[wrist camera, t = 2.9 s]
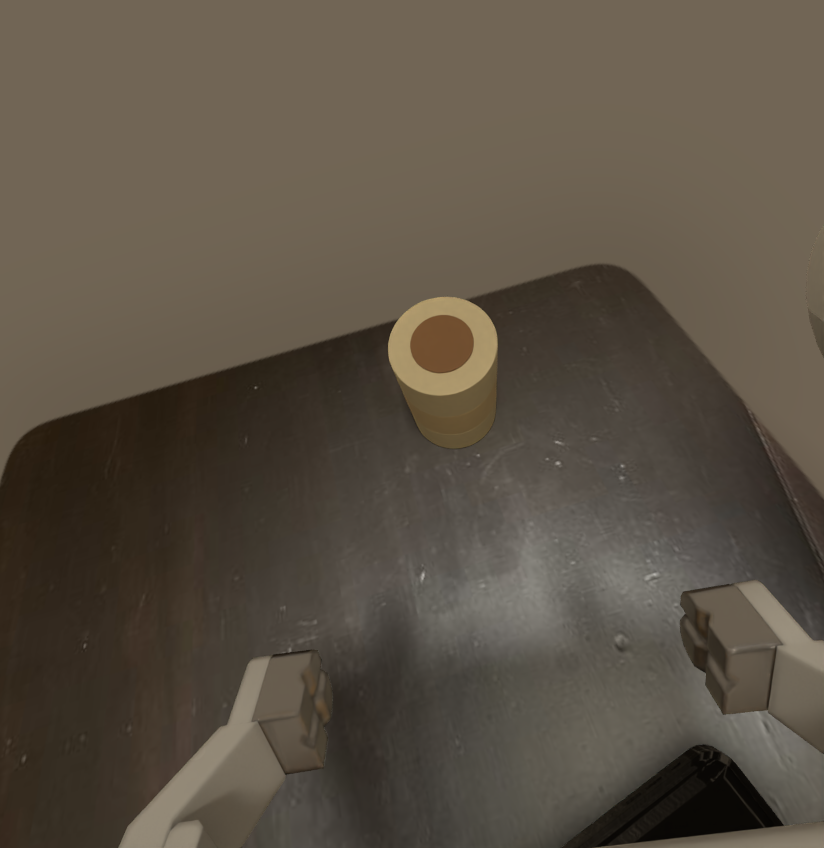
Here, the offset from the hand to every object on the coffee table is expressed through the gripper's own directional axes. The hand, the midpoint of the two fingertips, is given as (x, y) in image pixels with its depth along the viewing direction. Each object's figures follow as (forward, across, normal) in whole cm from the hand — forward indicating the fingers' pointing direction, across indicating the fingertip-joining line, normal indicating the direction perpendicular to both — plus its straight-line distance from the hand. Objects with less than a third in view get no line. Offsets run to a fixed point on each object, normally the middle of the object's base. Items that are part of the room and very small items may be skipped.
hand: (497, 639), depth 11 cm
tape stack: (+22, 0, +4) cm, 22 cm away
